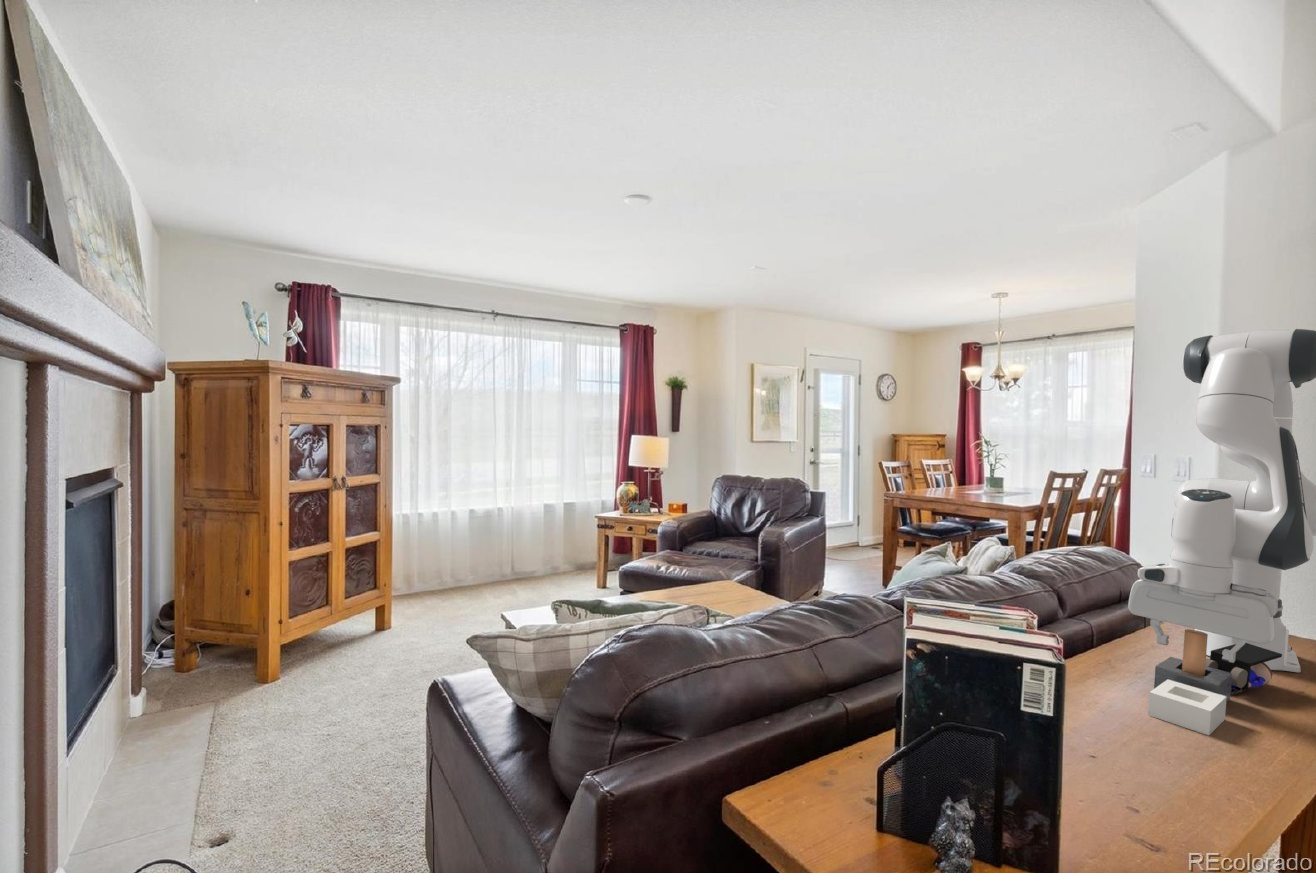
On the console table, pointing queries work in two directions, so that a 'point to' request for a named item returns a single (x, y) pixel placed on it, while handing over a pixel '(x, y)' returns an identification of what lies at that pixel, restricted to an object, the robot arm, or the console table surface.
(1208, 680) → the block
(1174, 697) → the socket block
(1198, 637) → the pin
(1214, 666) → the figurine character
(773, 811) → the console table surface
